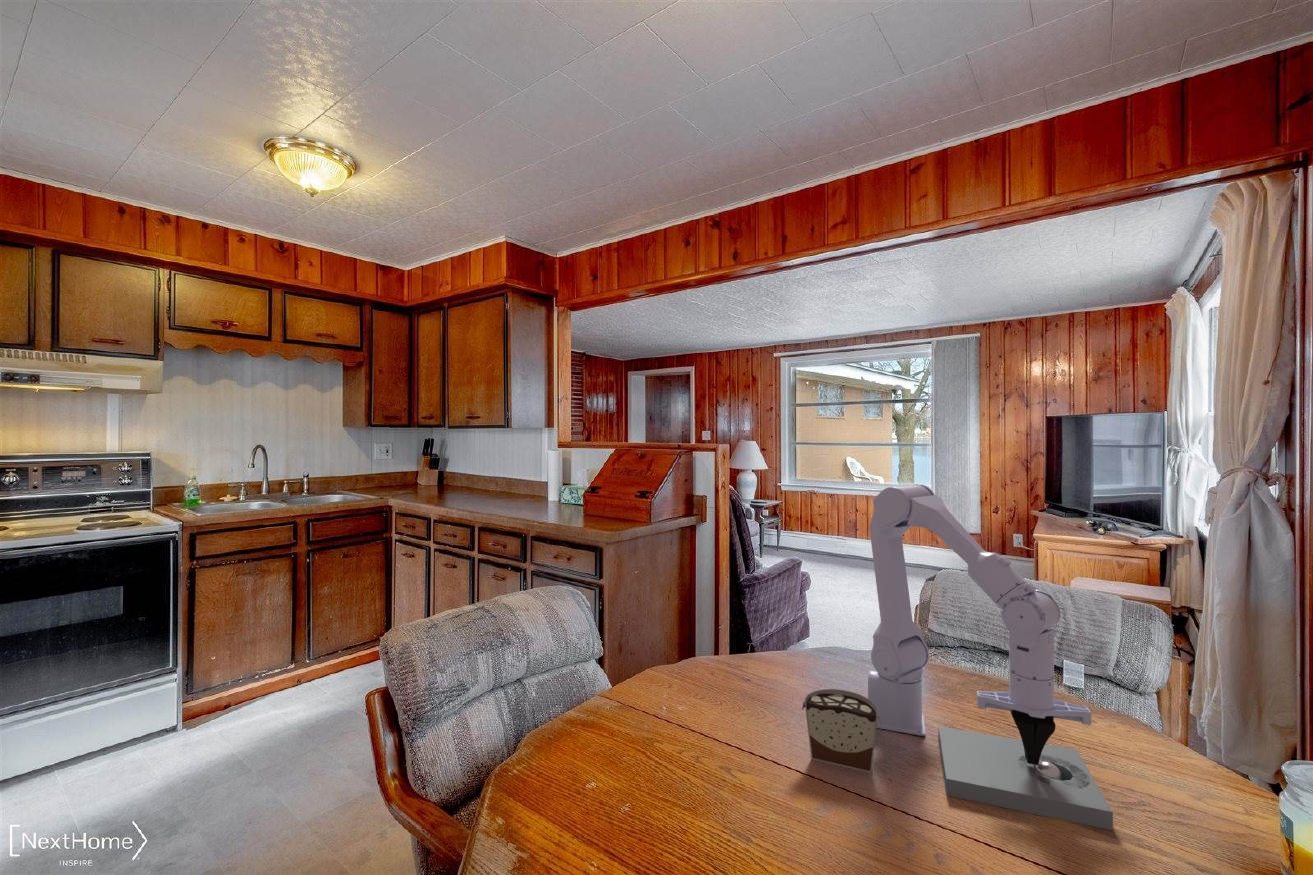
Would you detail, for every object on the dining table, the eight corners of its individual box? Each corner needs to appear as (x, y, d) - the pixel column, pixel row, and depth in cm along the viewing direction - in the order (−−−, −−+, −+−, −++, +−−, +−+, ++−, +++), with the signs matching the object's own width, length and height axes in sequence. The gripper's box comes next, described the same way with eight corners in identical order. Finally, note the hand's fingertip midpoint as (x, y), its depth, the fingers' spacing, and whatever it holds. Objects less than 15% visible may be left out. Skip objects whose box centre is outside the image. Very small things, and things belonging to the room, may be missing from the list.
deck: (946, 795, 84) (946, 778, 84) (938, 740, 98) (938, 726, 98) (1112, 830, 76) (1112, 812, 76) (1077, 765, 91) (1076, 749, 91)
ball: (1059, 768, 83) (1065, 794, 83) (1058, 758, 86) (1063, 782, 86) (1031, 766, 85) (1037, 790, 85) (1031, 755, 88) (1036, 779, 88)
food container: (883, 754, 94) (883, 695, 94) (881, 775, 89) (881, 712, 89) (808, 738, 99) (808, 682, 99) (802, 757, 94) (801, 697, 94)
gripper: (980, 675, 85) (981, 764, 85) (1098, 691, 80) (1098, 787, 80) (974, 658, 92) (974, 741, 92) (1082, 671, 86) (1083, 760, 86)
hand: (1031, 760), depth 86 cm, fingers closed
